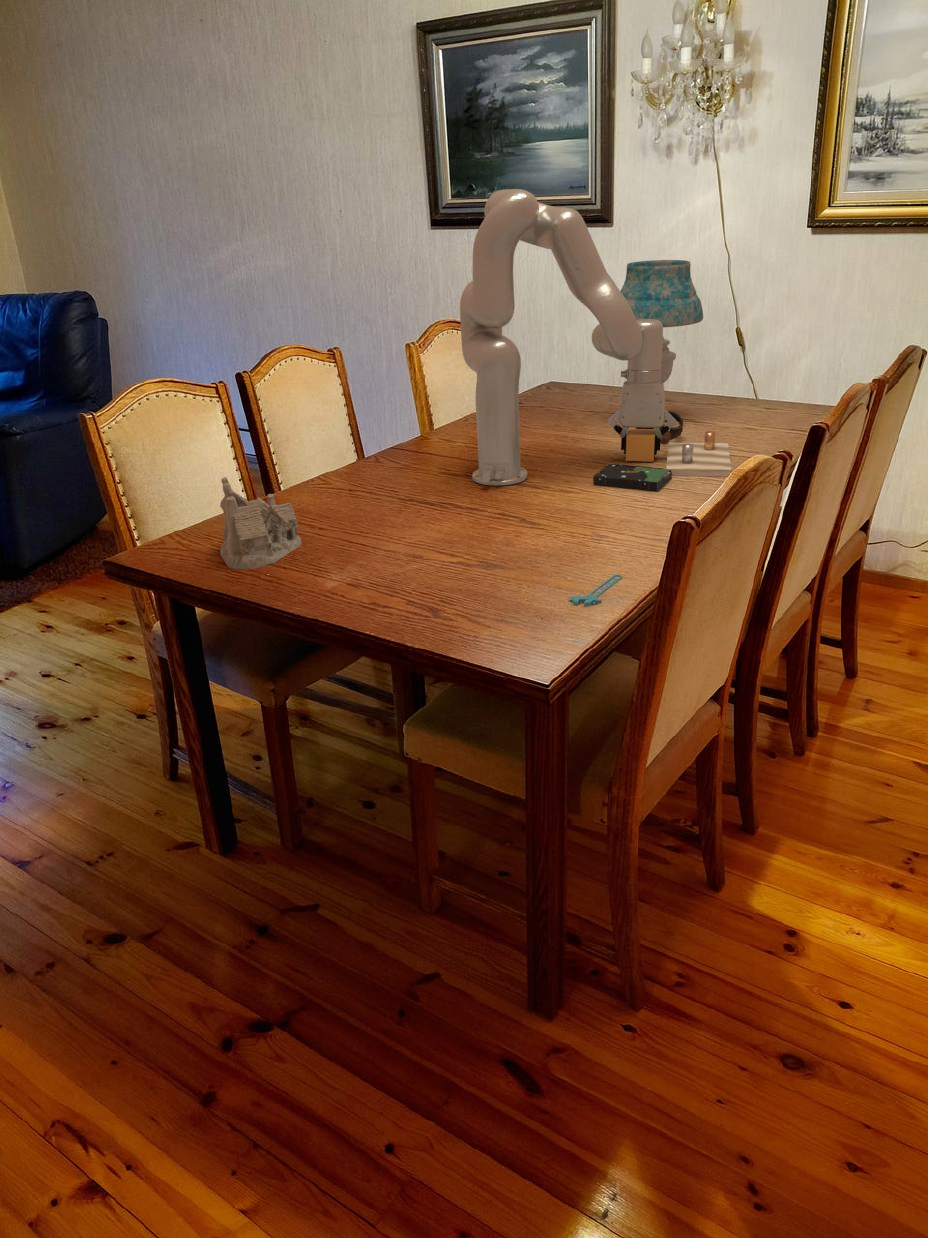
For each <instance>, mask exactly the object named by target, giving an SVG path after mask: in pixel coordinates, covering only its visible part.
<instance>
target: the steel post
mask: <svg viewBox="0 0 928 1238" xmlns="http://www.w3.org/2000/svg"><path fill="white" fill-rule="evenodd" d="M693 446H694V445H693V444H683V447H682V463H684V464H690V463H692V462H693Z"/></svg>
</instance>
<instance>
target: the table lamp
mask: <svg viewBox="0 0 928 1238" xmlns="http://www.w3.org/2000/svg"><path fill="white" fill-rule="evenodd" d="M691 264H692V263H691V261H689V260H684V259H683V260H681V259H657V260H655V259H653V260H652V259H651V260H642V261H633V262H629V263H627V265H626V274H625V279H624V281H623V285H622V287H621V289H620V291H621V293H622V294H623V296H624V297H625V299H626V300H627V302H628V304H629V305H630V307H631V309H632V311H633V313H634V316H635V318H636V320H639V319H656V320H659V321H661V323H662V324H663V328H675V327H684V326H685V327H686V326H690V325H694V324H699V323H701V322H702V321H703V320H704V311H703V305H702V301H701V299H700V297H699V296H698V295H697V290H696V287H695V285H694V283H693V280H692V276H691ZM670 344H671V341H670V340H669V339H668V338H667V339H666V338H665V337H664V336H663V340H662V359H661V378H660V381H662V382H663V384H664V383H666V382H667V381H668V379H669V378H670V377H671V375H672V372H673V366H674V361H675V360H676V357H677V355H676V352H674V351H671V350H670V348H669V347H668V346H669V345H670ZM666 421H667V422H668V420H667V419H666V418H665V419H664V422H666Z"/></svg>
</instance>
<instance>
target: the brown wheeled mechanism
mask: <svg viewBox="0 0 928 1238" xmlns="http://www.w3.org/2000/svg"><path fill="white" fill-rule="evenodd" d="M666 410H667V411H668V412H669V413H670V414H671V415H672V416H673V417H674V418H675V419H676V422H678V424H679V425H678V426H676V427H675V426H673V427H672V428H670V429H669V430H668V431H667V432H666V433H665V434H664V435H663V436H662V437H661V443H660V444H663V445H666V444H668V443H670V441H672V440H674V439H676V438H678V437H680V436H681V435H682V433H683V430H684V427H683V426H684V420H683V418H682V417H681V415H679V413H676V412H675V411H673V410H669V409H666ZM664 419H665V417H664ZM665 425H666V424H665V423H663V425H662V426H660V428H661V429H662V428H663V427H664V426H665ZM635 429H654V428H635Z"/></svg>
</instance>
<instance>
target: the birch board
mask: <svg viewBox="0 0 928 1238" xmlns="http://www.w3.org/2000/svg"><path fill="white" fill-rule="evenodd" d="M667 444H668V446H667V456H666V469H669V470H671V472H672V477H673V476H674V477H675V476H676V477H679V476H680V477H682V476H683V477H724V478H725V477H727V476H728V475H729V474H730V473H731V474H732V465H731V455H730V448H729V443H727V442H715V449H714V450H712V451H707V450H704V442H668V443H667ZM683 444H693V445H694V446H693V462H692V463H690V464H684V463H682V447H683Z"/></svg>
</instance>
